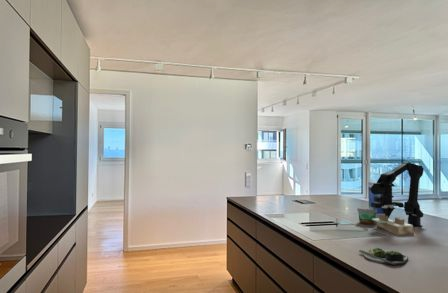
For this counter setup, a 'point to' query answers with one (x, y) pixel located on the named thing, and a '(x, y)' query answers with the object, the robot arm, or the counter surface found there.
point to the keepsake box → (396, 229)
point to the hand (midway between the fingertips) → (387, 218)
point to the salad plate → (385, 256)
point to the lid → (399, 223)
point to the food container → (367, 216)
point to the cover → (383, 219)
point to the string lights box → (371, 199)
